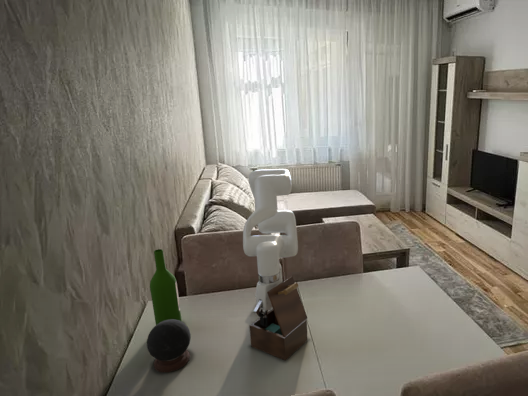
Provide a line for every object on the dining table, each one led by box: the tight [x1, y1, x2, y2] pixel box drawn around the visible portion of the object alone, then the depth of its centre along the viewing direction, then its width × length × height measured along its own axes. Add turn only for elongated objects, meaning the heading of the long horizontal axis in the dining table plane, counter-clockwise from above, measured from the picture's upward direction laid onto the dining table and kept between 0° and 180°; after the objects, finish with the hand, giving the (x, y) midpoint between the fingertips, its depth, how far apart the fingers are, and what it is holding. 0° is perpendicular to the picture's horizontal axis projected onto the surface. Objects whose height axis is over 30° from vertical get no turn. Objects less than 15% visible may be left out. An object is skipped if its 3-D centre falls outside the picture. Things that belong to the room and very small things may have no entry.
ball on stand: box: [146, 319, 192, 373], centre depth 129 cm, size 13×13×15 cm
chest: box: [249, 309, 308, 361], centre depth 139 cm, size 16×13×9 cm
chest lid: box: [267, 275, 308, 337], centre depth 132 cm, size 17×13×5 cm
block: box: [266, 323, 282, 335], centre depth 141 cm, size 4×4×4 cm
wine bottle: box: [149, 248, 183, 326], centre depth 145 cm, size 9×9×32 cm
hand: (272, 319), depth 139 cm, fingers open, 7 cm apart
